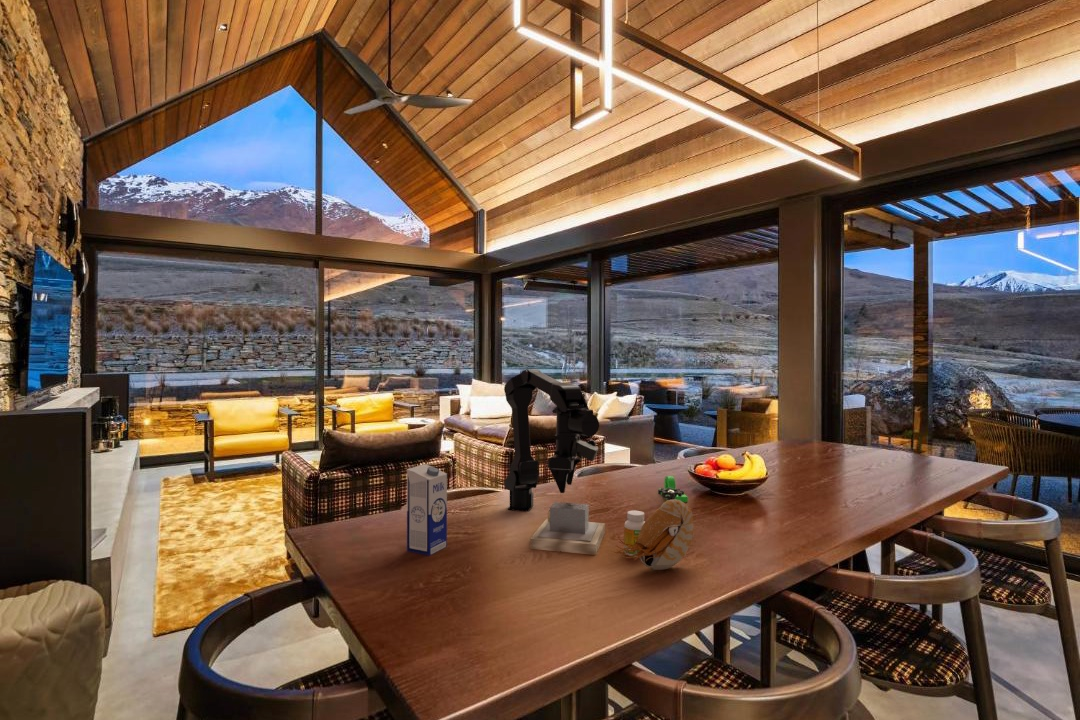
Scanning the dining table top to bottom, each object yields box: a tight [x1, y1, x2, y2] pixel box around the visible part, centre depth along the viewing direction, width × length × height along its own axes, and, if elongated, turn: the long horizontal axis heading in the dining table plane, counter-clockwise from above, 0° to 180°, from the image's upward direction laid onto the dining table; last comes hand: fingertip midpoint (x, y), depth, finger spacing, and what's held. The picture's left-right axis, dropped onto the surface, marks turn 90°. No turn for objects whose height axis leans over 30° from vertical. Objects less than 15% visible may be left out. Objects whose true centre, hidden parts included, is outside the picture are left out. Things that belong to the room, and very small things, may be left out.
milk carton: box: [406, 463, 448, 556], centre depth 131 cm, size 7×7×20 cm
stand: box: [529, 518, 606, 556], centre depth 138 cm, size 16×17×3 cm
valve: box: [657, 487, 685, 501], centre depth 141 cm, size 7×7×12 cm
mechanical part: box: [658, 475, 689, 503], centre depth 181 cm, size 12×6×8 cm, turn 3°
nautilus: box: [611, 499, 694, 571], centre depth 118 cm, size 8×22×15 cm, turn 119°
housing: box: [547, 501, 590, 534], centre depth 138 cm, size 5×10×6 cm, turn 76°
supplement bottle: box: [623, 509, 646, 557], centre depth 129 cm, size 5×5×10 cm
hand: (566, 488), depth 147 cm, fingers open, 9 cm apart
